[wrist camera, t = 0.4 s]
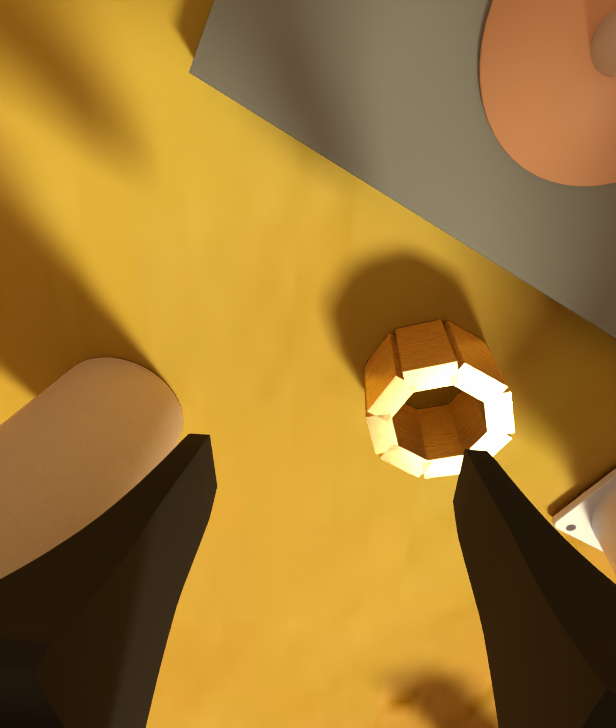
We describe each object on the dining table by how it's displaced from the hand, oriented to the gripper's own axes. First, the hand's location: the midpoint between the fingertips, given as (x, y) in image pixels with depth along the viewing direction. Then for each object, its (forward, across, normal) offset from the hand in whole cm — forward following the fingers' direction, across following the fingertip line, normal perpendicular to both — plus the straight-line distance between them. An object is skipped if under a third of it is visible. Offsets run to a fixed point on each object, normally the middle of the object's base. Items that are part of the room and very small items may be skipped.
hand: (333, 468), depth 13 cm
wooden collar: (+9, -4, +2) cm, 10 cm away
